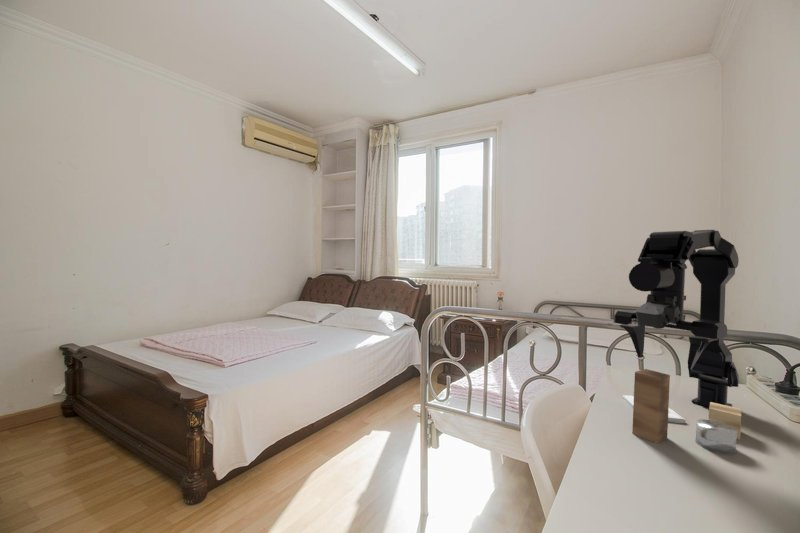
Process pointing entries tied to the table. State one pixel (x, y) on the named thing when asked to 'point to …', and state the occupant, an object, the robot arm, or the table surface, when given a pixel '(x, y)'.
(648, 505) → the table surface
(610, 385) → the table surface
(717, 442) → the grey tin
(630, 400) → the external hard drive
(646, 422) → the walnut block
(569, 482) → the table surface
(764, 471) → the table surface
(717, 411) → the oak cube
